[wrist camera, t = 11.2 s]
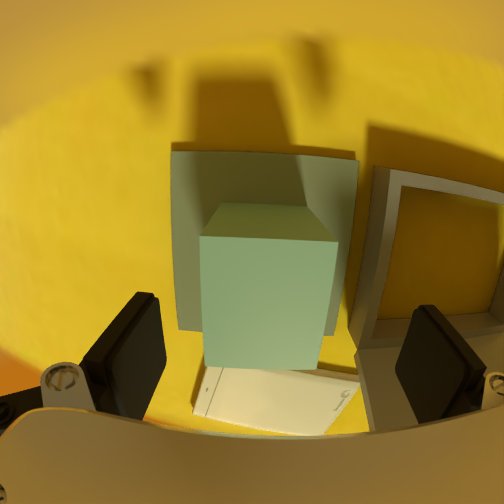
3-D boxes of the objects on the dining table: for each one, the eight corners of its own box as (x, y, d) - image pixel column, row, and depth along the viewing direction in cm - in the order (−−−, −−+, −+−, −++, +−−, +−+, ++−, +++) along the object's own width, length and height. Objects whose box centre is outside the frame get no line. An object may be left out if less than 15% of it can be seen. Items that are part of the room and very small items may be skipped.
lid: (556, 438, 8) (543, 448, 9) (506, 328, 18) (497, 340, 19) (393, 525, 8) (379, 527, 9) (359, 345, 18) (352, 359, 19)
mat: (356, 160, 17) (359, 160, 16) (332, 331, 21) (333, 335, 20) (173, 151, 17) (171, 151, 16) (180, 325, 21) (178, 329, 20)
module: (307, 206, 17) (338, 242, 10) (298, 298, 19) (316, 369, 12) (221, 202, 17) (199, 235, 10) (220, 295, 19) (204, 366, 12)
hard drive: (362, 383, 21) (211, 352, 20) (319, 439, 24) (190, 417, 23) (357, 370, 23) (214, 339, 22) (317, 427, 25) (193, 404, 24)
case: (521, 198, 17) (540, 204, 14) (490, 318, 20) (504, 331, 18) (373, 166, 17) (390, 169, 14) (348, 329, 20) (357, 349, 18)
